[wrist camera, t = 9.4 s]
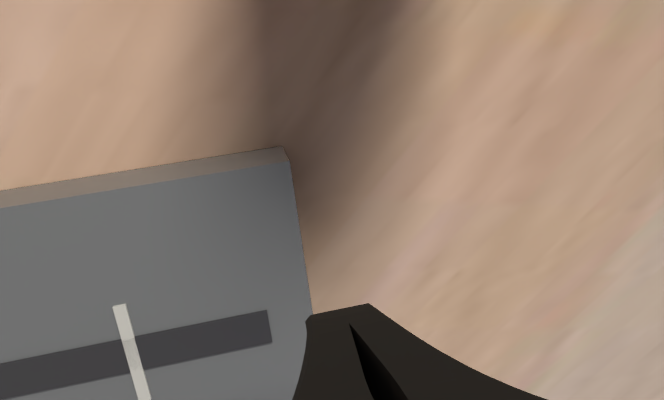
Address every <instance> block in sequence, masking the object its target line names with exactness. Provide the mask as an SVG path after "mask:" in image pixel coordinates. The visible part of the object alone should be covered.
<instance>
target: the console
mask: <svg viewBox="0 0 664 400" xmlns="http://www.w3.org/2000/svg"><path fill="white" fill-rule="evenodd" d="M310 315H313V312H312V306H311V299H310V292H309V286H308V279H307V273H306V266H305V259H304V253H303V246H302V240H301V233H300V226H299V220H298V213H297V207H296V200H295V193H294V187H293V180H292V173H291V167H290V161H289V159H288V157H287V155H286V153H285V151H284V149H283V147H282V146H279V147H273V148H267V149H260V150H254V151H248V152H241V153H235V154H229V155H223V156H216V157H210V158H204V159H197V160H191V161H185V162H179V163H172V164H166V165H160V166H153V167H147V168H141V169H134V170H128V171H122V172H116V173H109V174H103V175H97V176H90V177H84V178H78V179H72V180H65V181H59V182H53V183H46V184H40V185H34V186H27V187H21V188H15V189H9V190H2V191H0V400H292V399H293V396H294V393H295V390H296V386H297V383H298V380H299V376H300V372H301V368H302V363H303V358H304V354H305V347H306V338H307V330H306V324H305V321H306V320H307V318H308V317H309V316H310Z"/></svg>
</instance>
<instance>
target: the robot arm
mask: <svg viewBox="0 0 664 400" xmlns="http://www.w3.org/2000/svg"><path fill="white" fill-rule="evenodd" d="M305 324H306V330H307V338H306V347H305V354H304V358H303V363H302V368H301V372H300V376H299V380H298V383H297V386H296V390H295V393H294V396H293V399H292V400H547V399H544V398H541V397H538V396H535V395H533V394H530V393H527V392H525V391H522V390H519V389H517V388H514V387H512V386H510V385H507V384H505V383H503V382H501V381H498V380H496V379H494V378H491V377H489V376H487V375H485V374H482V373H480V372H478V371H476V370H474V369H472V368H470V367H468V366H466V365H464V364H463V363H461V362H459V361H457V360H455V359H453V358H452V357H450V356H448V355H446V354H444V353H442V352H441V351H439V350H437V349H436V348H434V347H432V346H431V345H429V344H427V343H426V342H424V341H423V340H421V339H419V338H418V337H416V336H415V335H413V334H412V333H410V332H409V331H407V330H406V329H404V328H403V327H401V326H400V325H399V324H397V323H396V322H394V321H393V320H391V319H390V318H389V317H387V316H386V315H384V314H383V313H382V312H380V311H379V310H377V309H376V308H375V307H373V306H372V305H370V304H369V303H367V304H363V305H358V306H353V307H348V308H343V309H338V310H333V311H328V312H324V313H319V314H314V315H310V316H309V317H308V318H307V320H306V321H305Z"/></svg>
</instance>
